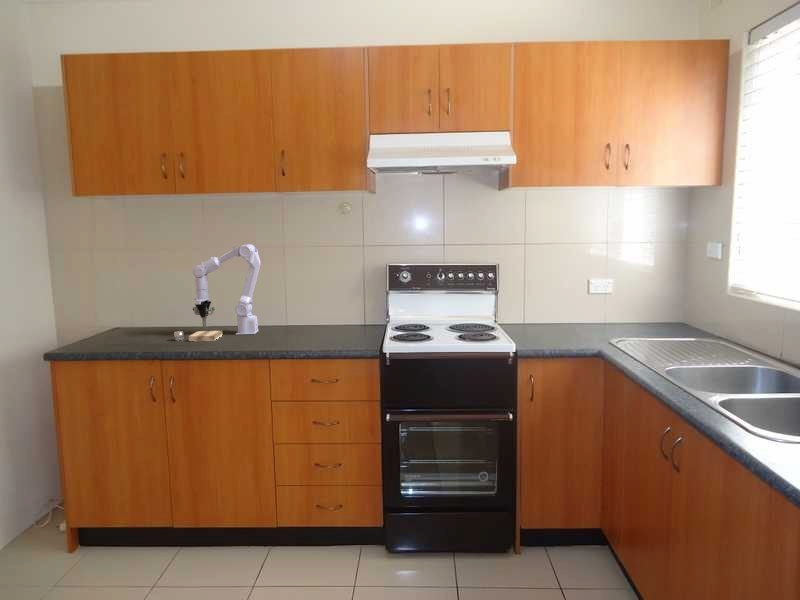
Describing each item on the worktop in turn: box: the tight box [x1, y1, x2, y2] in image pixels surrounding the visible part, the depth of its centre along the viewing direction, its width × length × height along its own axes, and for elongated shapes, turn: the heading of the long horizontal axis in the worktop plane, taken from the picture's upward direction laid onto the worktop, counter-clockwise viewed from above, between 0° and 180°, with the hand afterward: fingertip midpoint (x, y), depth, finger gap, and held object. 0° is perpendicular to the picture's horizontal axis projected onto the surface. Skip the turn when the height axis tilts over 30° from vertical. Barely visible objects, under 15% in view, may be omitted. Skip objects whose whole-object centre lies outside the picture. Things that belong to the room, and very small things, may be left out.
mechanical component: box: [192, 306, 215, 328], centre depth 271 cm, size 3×10×10 cm, turn 91°
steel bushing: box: [173, 330, 185, 342], centre depth 259 cm, size 4×4×4 cm
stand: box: [188, 330, 223, 342], centre depth 261 cm, size 12×12×2 cm
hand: (204, 316), depth 271 cm, fingers closed on mechanical component, 3 cm apart
